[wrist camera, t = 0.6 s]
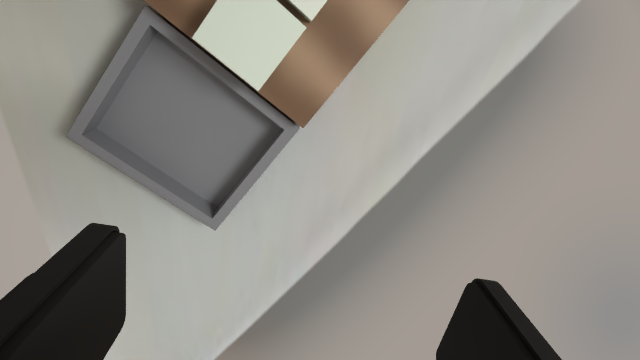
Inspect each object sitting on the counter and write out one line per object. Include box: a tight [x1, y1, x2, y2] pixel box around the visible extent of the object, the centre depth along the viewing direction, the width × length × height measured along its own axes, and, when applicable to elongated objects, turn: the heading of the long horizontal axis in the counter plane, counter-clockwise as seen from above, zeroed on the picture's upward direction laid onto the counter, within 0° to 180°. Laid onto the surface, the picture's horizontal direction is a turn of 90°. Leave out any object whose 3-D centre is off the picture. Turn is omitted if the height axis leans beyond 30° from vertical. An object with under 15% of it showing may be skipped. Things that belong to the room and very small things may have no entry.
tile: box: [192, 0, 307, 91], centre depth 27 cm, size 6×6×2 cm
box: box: [66, 6, 299, 230], centre depth 33 cm, size 14×16×3 cm
